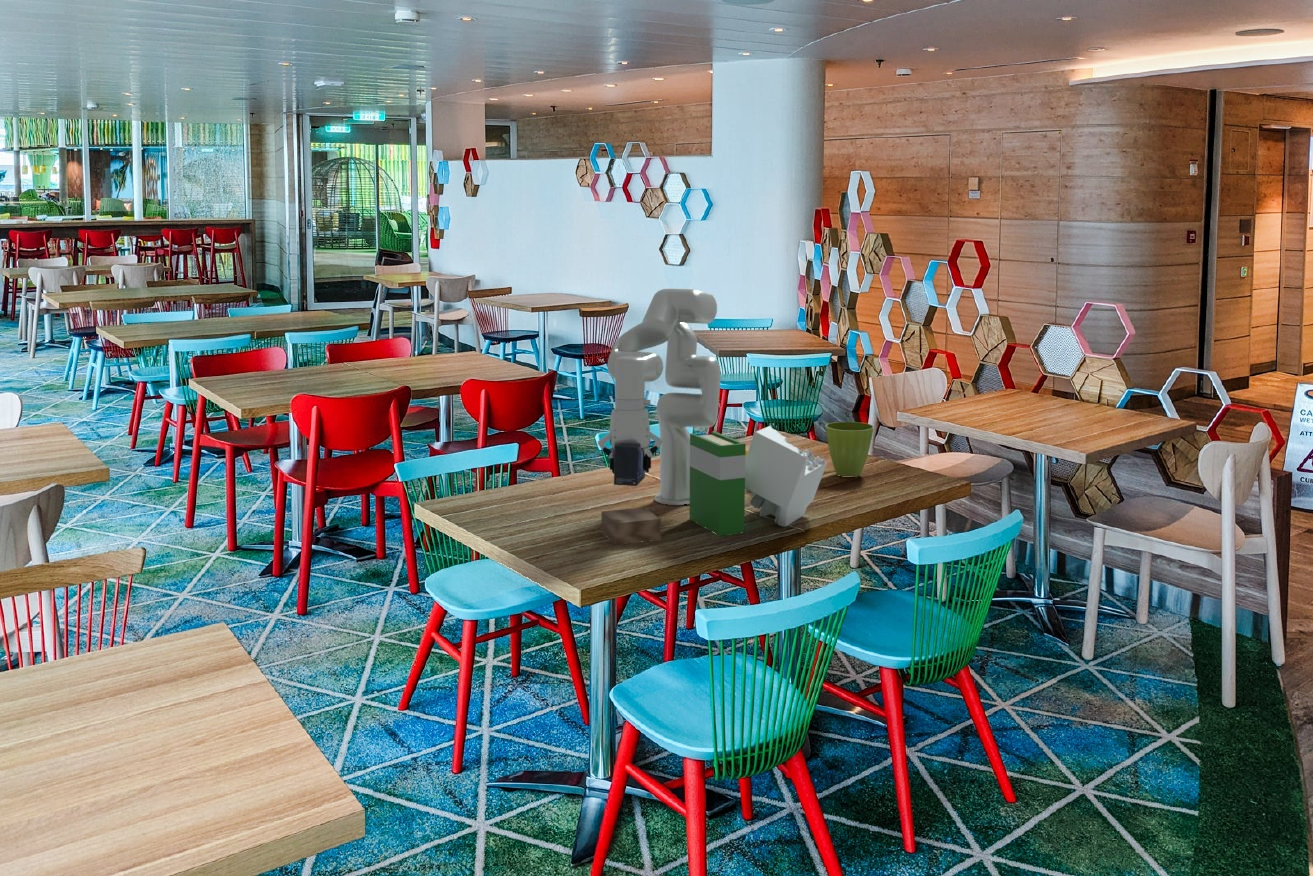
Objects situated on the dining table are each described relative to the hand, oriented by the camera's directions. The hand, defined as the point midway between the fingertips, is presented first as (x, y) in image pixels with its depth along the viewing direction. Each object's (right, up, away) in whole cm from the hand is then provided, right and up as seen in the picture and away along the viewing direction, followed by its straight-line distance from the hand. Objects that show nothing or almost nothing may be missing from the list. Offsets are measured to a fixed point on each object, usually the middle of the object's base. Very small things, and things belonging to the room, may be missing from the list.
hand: (630, 471), depth 298 cm
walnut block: (0, -17, +4) cm, 18 cm away
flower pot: (+68, -3, +69) cm, 97 cm away
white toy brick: (+41, -14, +19) cm, 47 cm away
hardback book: (+23, -15, +13) cm, 30 cm away
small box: (0, -3, 0) cm, 3 cm away
